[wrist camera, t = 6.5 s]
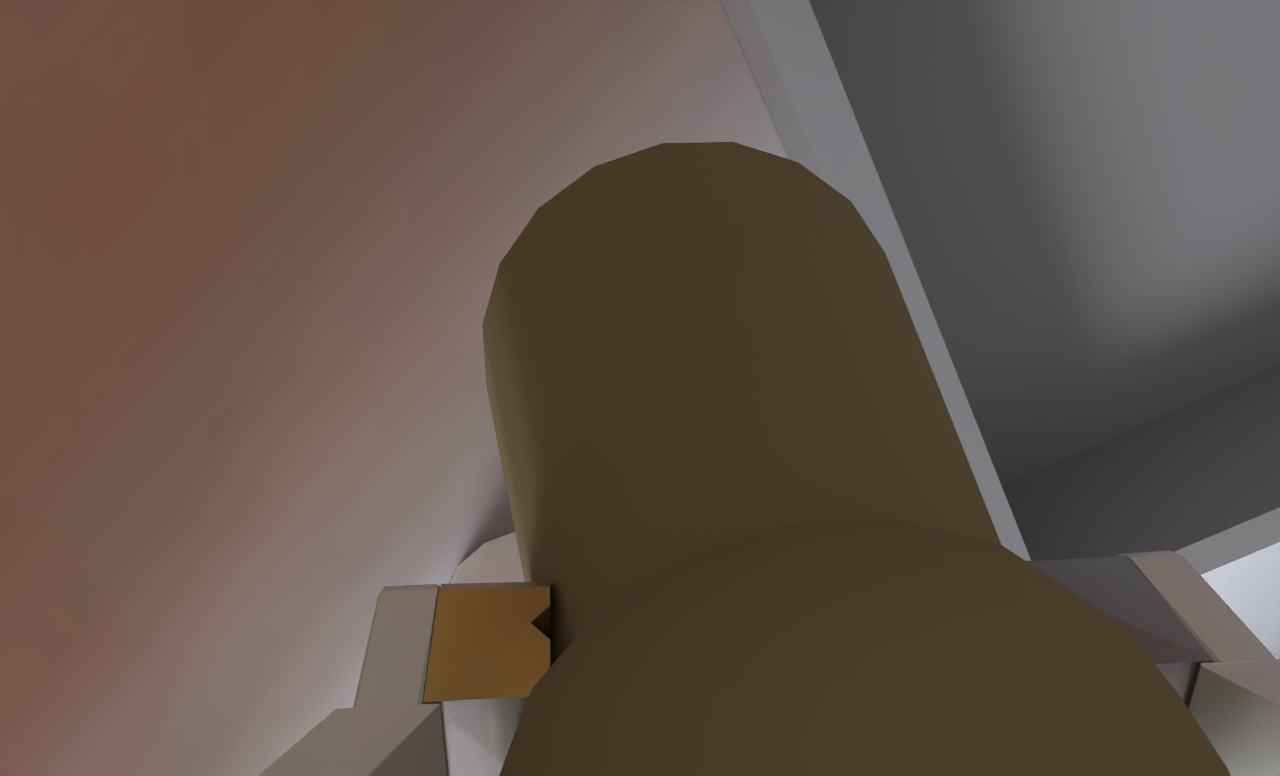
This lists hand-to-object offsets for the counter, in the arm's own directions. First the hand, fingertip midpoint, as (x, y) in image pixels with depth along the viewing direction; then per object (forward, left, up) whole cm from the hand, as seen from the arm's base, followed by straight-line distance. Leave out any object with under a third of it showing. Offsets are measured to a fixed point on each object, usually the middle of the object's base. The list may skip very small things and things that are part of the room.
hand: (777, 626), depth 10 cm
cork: (0, 0, -7) cm, 7 cm away
